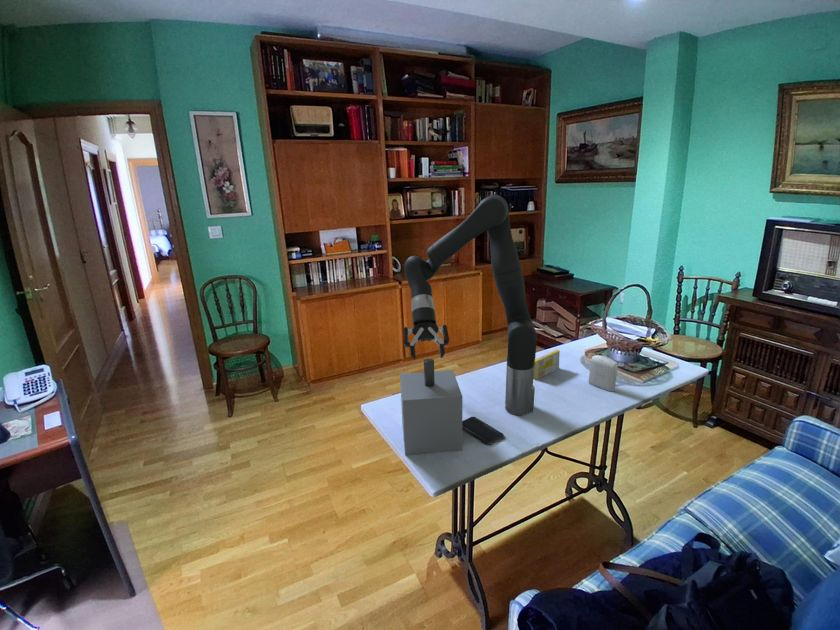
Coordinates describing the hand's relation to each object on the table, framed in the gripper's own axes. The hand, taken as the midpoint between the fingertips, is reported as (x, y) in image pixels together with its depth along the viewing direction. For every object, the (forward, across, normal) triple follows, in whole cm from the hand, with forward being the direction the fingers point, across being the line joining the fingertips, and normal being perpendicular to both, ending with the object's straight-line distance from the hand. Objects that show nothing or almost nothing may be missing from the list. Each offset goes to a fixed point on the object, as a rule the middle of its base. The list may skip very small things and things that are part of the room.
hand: (428, 357), depth 135 cm
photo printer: (+4, +70, +35) cm, 78 cm away
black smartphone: (+20, +17, +18) cm, 32 cm away
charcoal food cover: (+20, 0, +18) cm, 27 cm away
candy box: (-6, +53, +45) cm, 70 cm away
